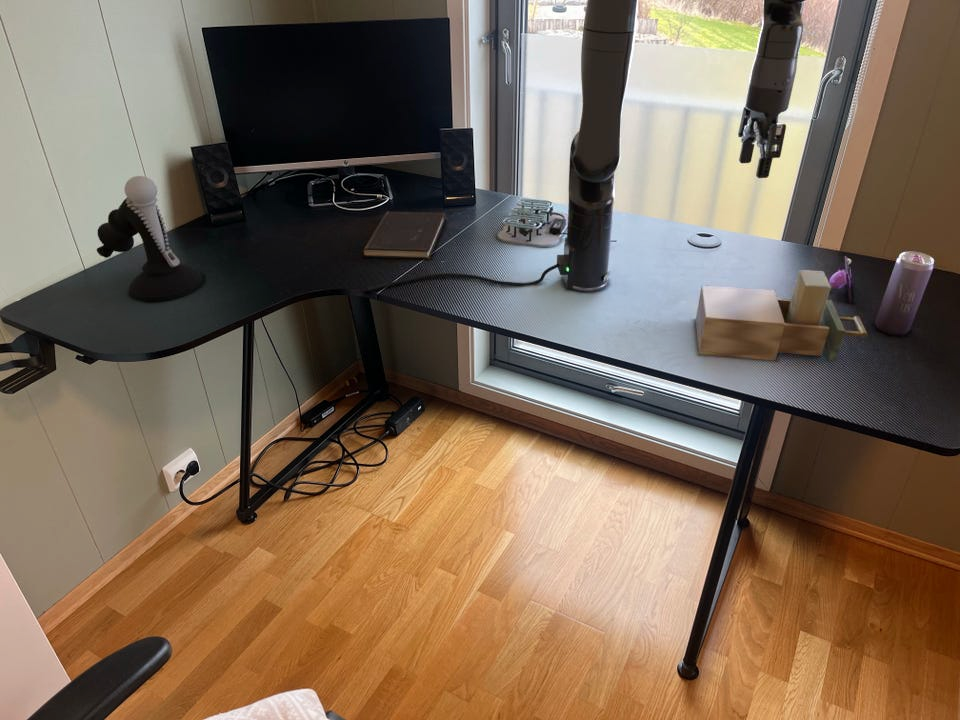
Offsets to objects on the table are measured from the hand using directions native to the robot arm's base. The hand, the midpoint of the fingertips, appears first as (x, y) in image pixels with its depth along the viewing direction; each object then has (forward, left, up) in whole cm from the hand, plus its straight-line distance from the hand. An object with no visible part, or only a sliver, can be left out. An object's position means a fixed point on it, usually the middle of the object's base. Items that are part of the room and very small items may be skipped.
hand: (753, 169), depth 135 cm
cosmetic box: (+4, -23, -24) cm, 34 cm away
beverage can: (+25, -19, -26) cm, 41 cm away
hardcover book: (-70, +34, -26) cm, 82 cm away
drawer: (+6, -23, -25) cm, 35 cm away
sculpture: (-127, +16, -26) cm, 131 cm away
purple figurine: (+22, -4, -26) cm, 34 cm away
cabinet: (-6, -20, -26) cm, 33 cm away
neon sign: (-31, +34, -26) cm, 53 cm away
